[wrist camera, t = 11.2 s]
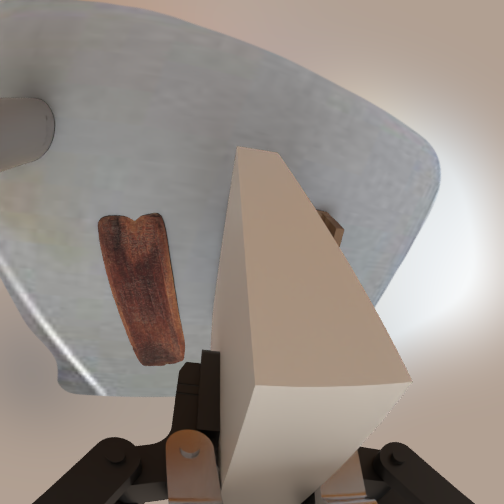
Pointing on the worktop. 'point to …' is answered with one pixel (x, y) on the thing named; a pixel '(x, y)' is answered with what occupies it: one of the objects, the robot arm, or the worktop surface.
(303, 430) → the cutting board
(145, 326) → the wooden tablet
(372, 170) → the worktop surface
